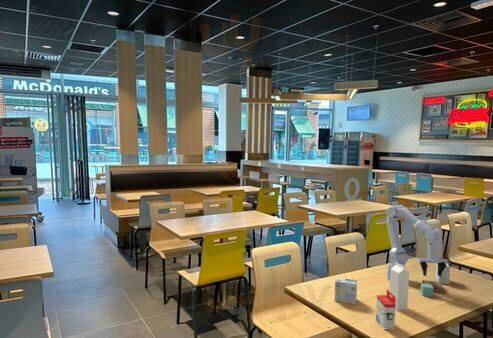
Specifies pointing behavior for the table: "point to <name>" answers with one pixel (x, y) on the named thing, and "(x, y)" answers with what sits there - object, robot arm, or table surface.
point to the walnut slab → (435, 286)
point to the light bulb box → (345, 290)
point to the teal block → (426, 290)
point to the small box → (443, 274)
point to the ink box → (386, 310)
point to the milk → (399, 286)
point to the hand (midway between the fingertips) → (432, 275)
